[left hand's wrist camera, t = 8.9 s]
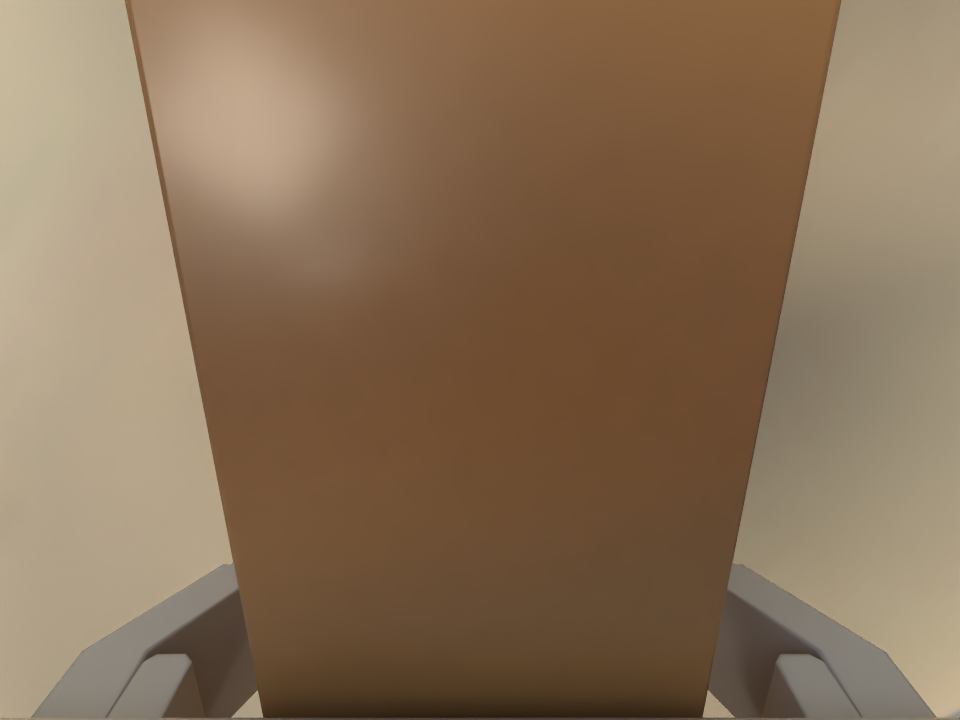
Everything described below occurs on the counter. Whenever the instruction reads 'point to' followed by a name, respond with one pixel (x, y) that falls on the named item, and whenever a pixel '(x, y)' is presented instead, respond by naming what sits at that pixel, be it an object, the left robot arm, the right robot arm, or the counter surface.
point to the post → (482, 330)
